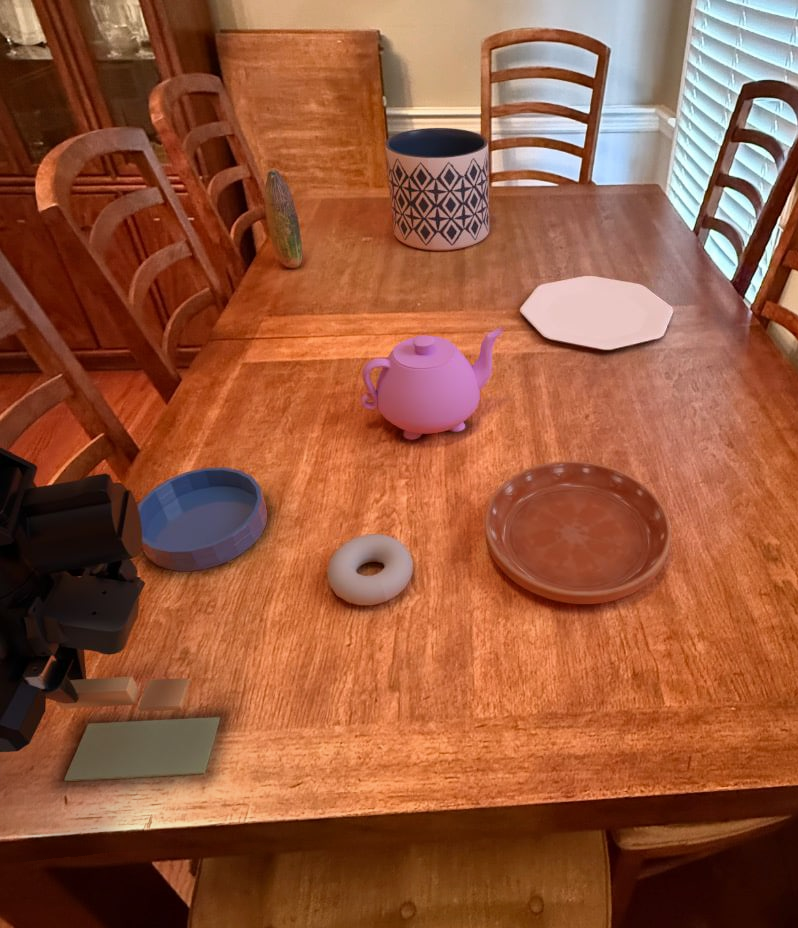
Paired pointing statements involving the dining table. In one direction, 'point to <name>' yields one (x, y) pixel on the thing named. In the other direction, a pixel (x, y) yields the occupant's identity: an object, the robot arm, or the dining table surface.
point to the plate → (597, 313)
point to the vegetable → (282, 220)
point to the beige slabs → (130, 693)
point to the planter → (439, 187)
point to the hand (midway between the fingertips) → (76, 692)
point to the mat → (144, 749)
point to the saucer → (577, 532)
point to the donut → (373, 586)
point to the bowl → (201, 518)
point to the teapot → (428, 384)
